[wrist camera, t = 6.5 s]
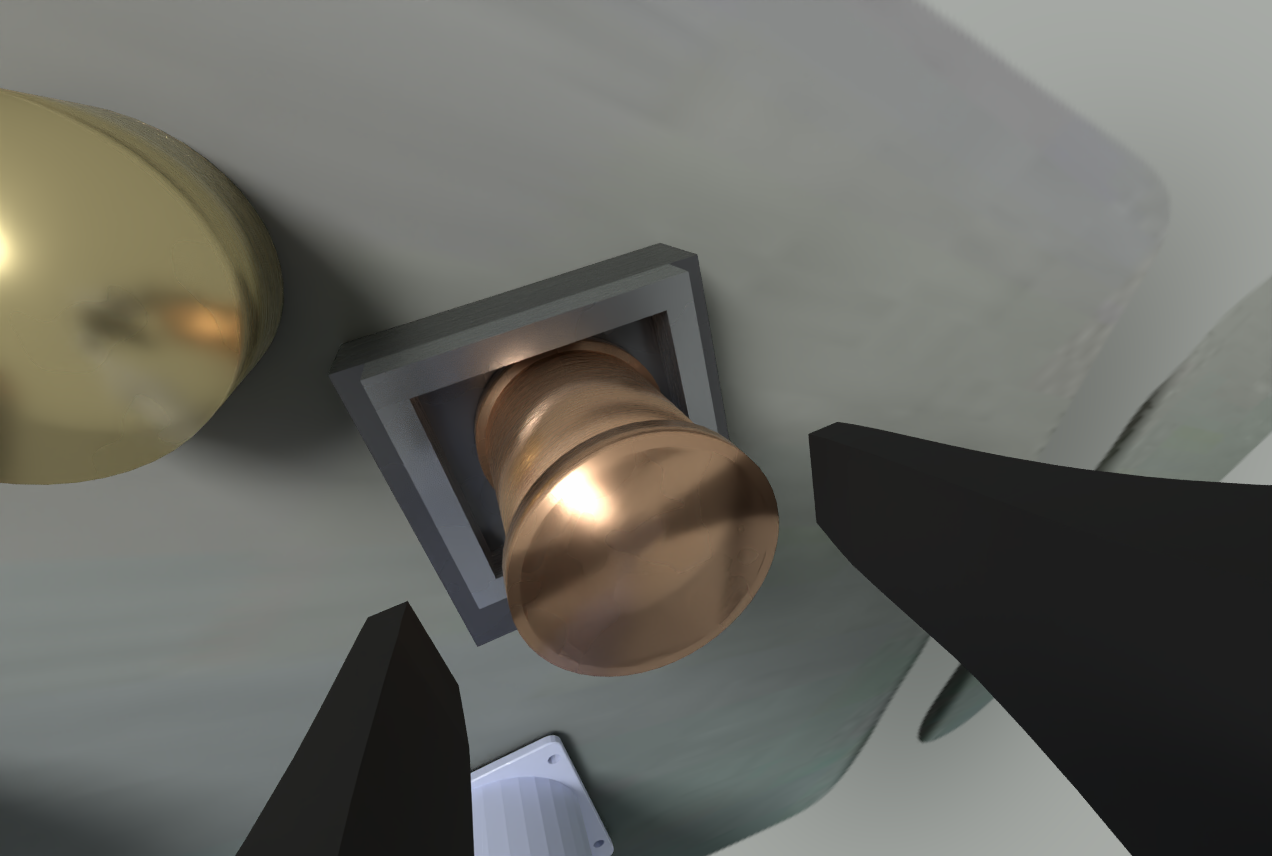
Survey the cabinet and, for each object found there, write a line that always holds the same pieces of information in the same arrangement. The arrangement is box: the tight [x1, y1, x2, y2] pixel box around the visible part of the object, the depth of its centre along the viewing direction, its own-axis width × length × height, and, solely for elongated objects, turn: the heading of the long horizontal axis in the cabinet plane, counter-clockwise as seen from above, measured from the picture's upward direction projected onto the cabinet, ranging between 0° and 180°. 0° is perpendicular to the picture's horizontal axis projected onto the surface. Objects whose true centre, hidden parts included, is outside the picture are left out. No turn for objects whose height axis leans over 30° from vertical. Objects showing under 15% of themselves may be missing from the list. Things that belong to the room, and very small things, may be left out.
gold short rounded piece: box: [0, 88, 284, 485], centre depth 11 cm, size 6×6×4 cm
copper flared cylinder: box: [474, 336, 779, 677], centre depth 12 cm, size 5×5×6 cm
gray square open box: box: [328, 243, 729, 647], centre depth 15 cm, size 9×9×5 cm
